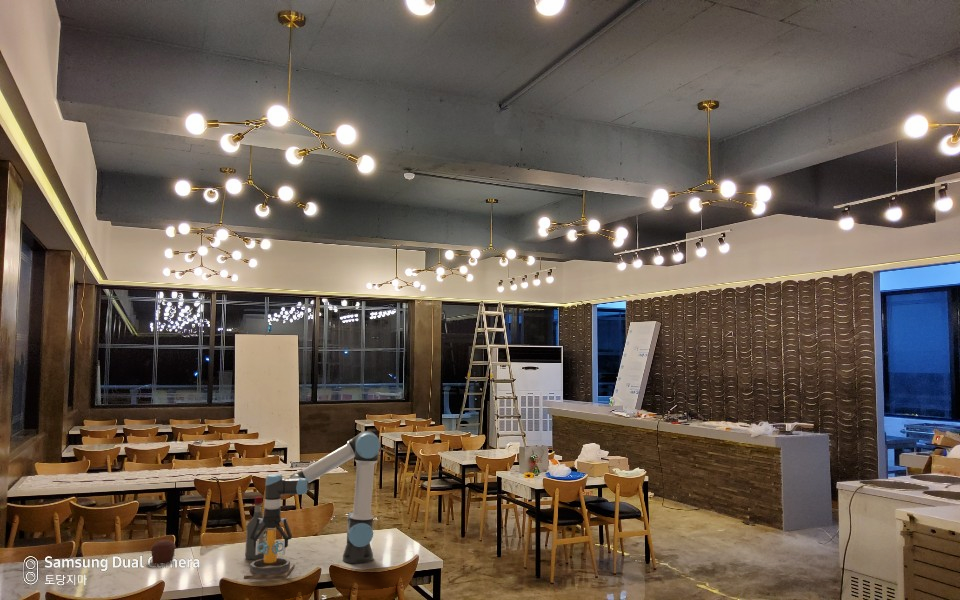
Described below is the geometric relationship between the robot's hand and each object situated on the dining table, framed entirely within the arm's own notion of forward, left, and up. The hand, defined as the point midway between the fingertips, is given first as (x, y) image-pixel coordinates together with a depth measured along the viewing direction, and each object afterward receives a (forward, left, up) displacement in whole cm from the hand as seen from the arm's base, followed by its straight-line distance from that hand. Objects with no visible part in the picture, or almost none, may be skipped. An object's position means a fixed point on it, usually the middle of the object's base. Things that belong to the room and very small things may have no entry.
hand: (270, 554), depth 321 cm
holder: (0, 0, -8) cm, 8 cm away
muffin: (+57, -19, -8) cm, 61 cm away
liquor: (+13, -25, -8) cm, 29 cm away
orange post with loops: (0, 0, -4) cm, 4 cm away
